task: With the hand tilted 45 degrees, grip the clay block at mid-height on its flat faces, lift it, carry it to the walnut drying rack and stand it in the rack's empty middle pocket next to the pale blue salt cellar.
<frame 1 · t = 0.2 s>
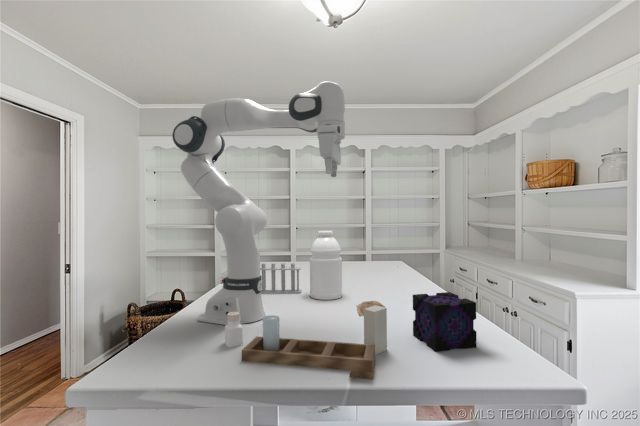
hand: (331, 175, 112), 48 cm above the table, tool pointing down, fingers open, 8 cm apart
rack: (309, 364, 82), on the table
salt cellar: (271, 354, 84), point 1 cm above the table, touching rack
test tube rack: (273, 293, 155), on the table
energy cube: (443, 342, 95), on the table
fish fossil: (369, 313, 123), on the table
bottle: (326, 296, 147), on the table
pepper shaker: (233, 349, 91), on the table
clay block: (375, 350, 89), on the table
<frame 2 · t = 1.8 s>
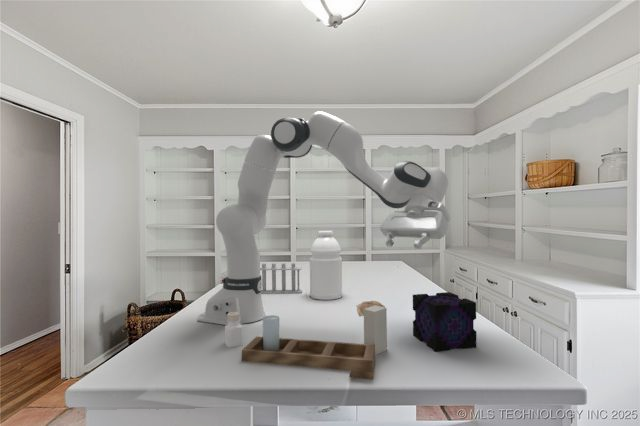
hand: (402, 246, 97), 26 cm above the table, tool tilted 45°, fingers open, 8 cm apart
nothing on the table moved.
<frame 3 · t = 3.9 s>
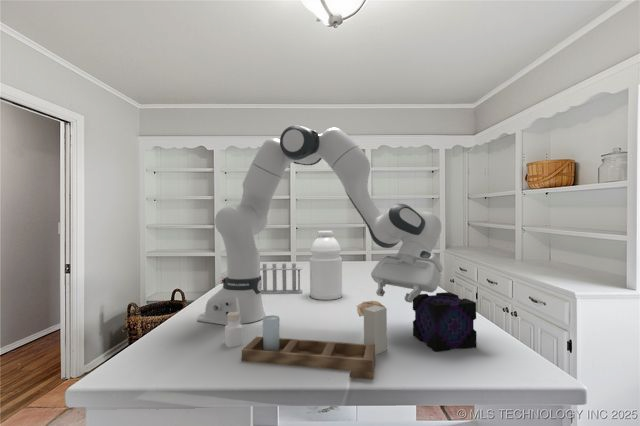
hand: (392, 297, 95), 12 cm above the table, tool tilted 45°, fingers open, 8 cm apart
nothing on the table moved.
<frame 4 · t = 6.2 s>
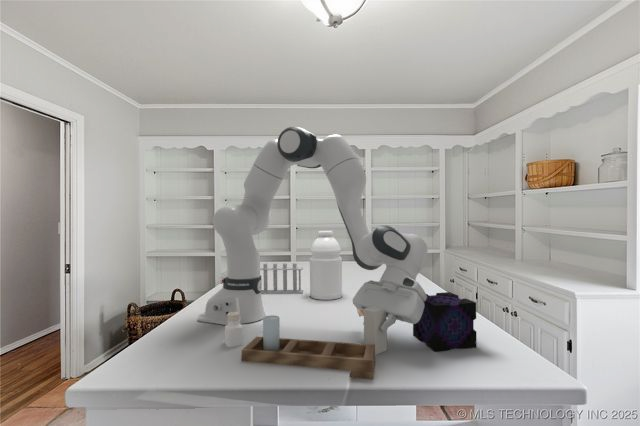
hand: (373, 328, 89), 6 cm above the table, tool tilted 45°, fingers closed on clay block, 3 cm apart
clay block: (375, 350, 89), on the table, touching gripper
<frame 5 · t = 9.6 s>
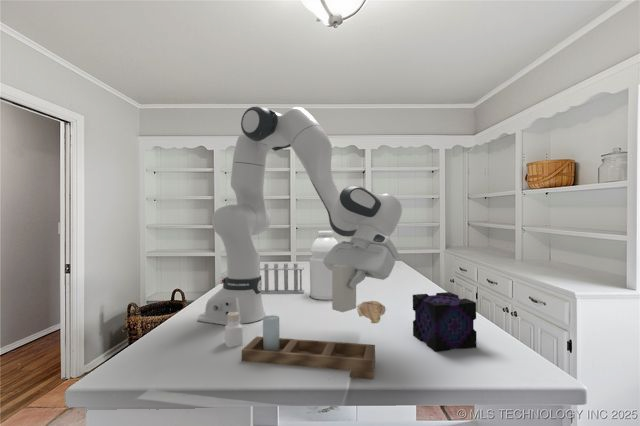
hand: (342, 285, 85), 18 cm above the table, tool tilted 45°, fingers closed on clay block, 3 cm apart
clay block: (344, 308, 86), point 12 cm above the table, touching gripper
when the fingers open (9 cm above the table, at t = 13.0 s): clay block drops 1 cm, resting on rack.
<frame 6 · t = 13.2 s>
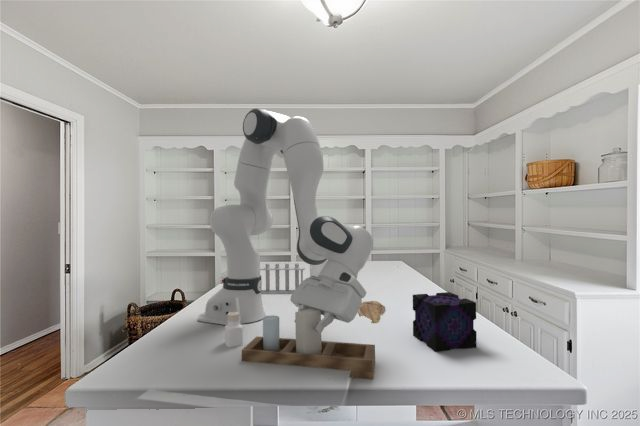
hand: (306, 327, 81), 9 cm above the table, tool tilted 45°, fingers open, 5 cm apart
clay block: (309, 357, 82), point 2 cm above the table, touching rack
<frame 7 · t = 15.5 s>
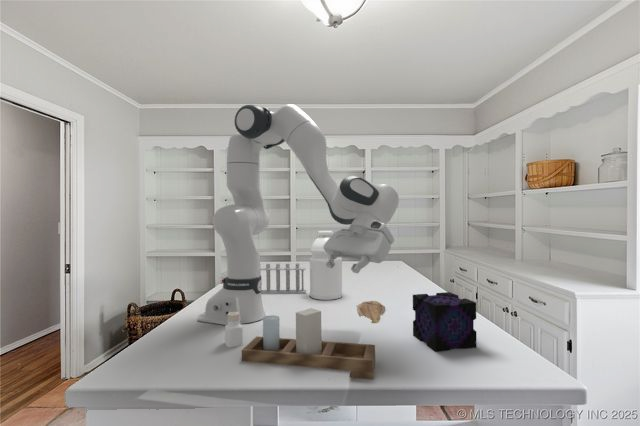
hand: (340, 269, 91), 21 cm above the table, tool tilted 45°, fingers open, 8 cm apart
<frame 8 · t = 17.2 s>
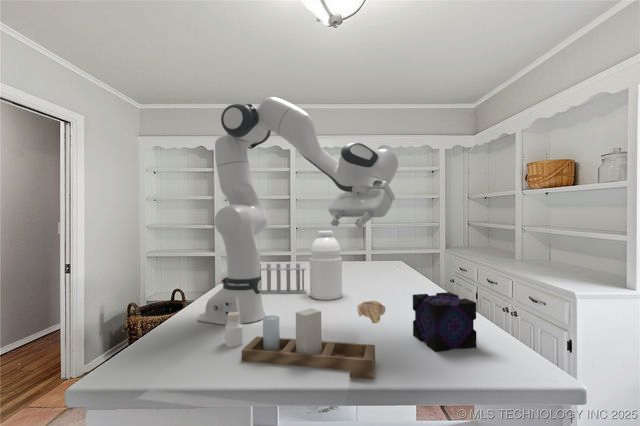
hand: (345, 225, 96), 32 cm above the table, tool tilted 45°, fingers open, 8 cm apart
at the end: clay block 0.1 cm off-centre on the rack, point 1.5 cm above the rack's base; clay block tilted 0°; the gripper is holding nothing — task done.
